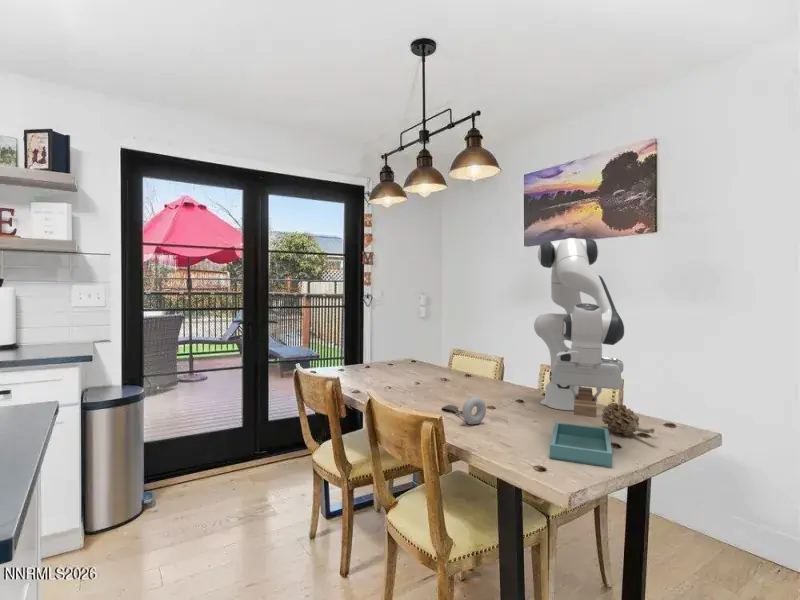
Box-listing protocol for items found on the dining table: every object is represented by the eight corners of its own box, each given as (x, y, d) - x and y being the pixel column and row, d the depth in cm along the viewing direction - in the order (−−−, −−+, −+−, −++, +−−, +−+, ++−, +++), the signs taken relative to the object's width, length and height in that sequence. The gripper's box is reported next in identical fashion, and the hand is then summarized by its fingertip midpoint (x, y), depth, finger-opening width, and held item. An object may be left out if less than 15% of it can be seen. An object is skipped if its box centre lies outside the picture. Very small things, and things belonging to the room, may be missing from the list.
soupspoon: (454, 410, 186) (439, 411, 184) (454, 402, 186) (439, 403, 184) (476, 424, 165) (459, 426, 163) (476, 414, 164) (459, 416, 163)
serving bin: (554, 433, 154) (555, 422, 153) (607, 440, 147) (608, 428, 147) (549, 458, 131) (550, 445, 131) (611, 467, 125) (612, 453, 125)
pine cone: (592, 428, 160) (593, 400, 160) (613, 425, 164) (614, 398, 164) (647, 449, 140) (647, 417, 140) (669, 445, 143) (670, 414, 143)
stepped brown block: (575, 401, 147) (575, 386, 147) (595, 403, 145) (595, 388, 144) (573, 414, 131) (574, 397, 131) (596, 417, 129) (596, 400, 129)
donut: (465, 427, 159) (466, 399, 159) (459, 424, 162) (460, 397, 162) (487, 423, 164) (488, 396, 164) (481, 421, 167) (482, 394, 167)
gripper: (622, 357, 138) (621, 402, 139) (552, 352, 146) (551, 395, 146) (624, 360, 132) (623, 406, 133) (551, 355, 140) (550, 399, 141)
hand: (585, 400), depth 140 cm, fingers closed on stepped brown block, 4 cm apart
